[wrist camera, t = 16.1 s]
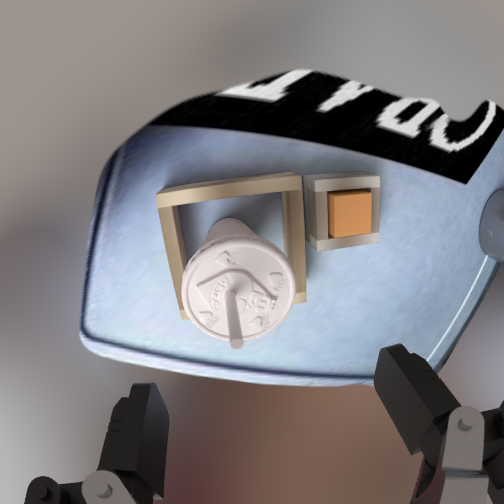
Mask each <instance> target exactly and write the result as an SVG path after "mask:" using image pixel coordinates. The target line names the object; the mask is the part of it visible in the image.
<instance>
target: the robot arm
mask: <svg viewBox="0 0 504 504" xmlns="http://www.w3.org/2000/svg"><path fill="white" fill-rule="evenodd" d="M479 235H480V244H481V248H482V250H483V252H484V253H485V254H486V255H488V256H489V257H491V258H493V259H495V260H496V261H498V262H500V263H501V264H503V265H504V189H500V190H498V191H496V192H495V193H494V194H493V195H492V196H491V197H490V199H489V200H488V202H487V204H486V206H485V209H484V211H483V215H482V218H481V224H480V233H479ZM374 386H375V390H376V392H377V394H378V396H379V397H380V399H381V401H382V403H383V404H384V406H385V408H386V410H387V412H388V413H389V415H390V417H391V419H392V420H393V422H394V424H395V426H396V428H397V429H398V432H399V433H400V435H401V437H402V439H403V441H404V443H405V444H406V446H407V448H408V450H409V452H410V454H411V455H413V454H415V453H418V452H420V451H422V453H423V455H424V456H423V458H422V462H421V466H420V470H419V473H418V477H417V481H416V484H415V488H414V491H413V494H412V497H411V500H410V502H409V504H485V502H486V496H487V492H488V494H489V496H490V498H491V500H492V503H493V504H504V401H503V402H502V404H501V405H500V407H499V408H497V409H492V410H488V411H483V412H479V411H478V410H477V409H475V408H473V407H470V406H461V405H460V403H459V402H458V401H457V400H456V398H455V397H454V396H453V394H452V393H451V392H450V390H449V389H448V388H447V386H446V385H445V384H444V383H443V381H442V380H441V379H440V378H438V375H437V374H436V372H435V371H433V369H432V367H431V366H430V365H429V364H428V362H427V361H426V360H425V359H424V358H422V357H420V356H419V355H417V354H415V353H412V354H410V353H409V352H408V351H407V349H406V348H405V347H404V346H403V345H402V344H400V343H399V344H395V345H392V346H389V347H385V348H382V349H381V350H380V352H379V357H378V361H377V366H376V370H375V374H374ZM168 431H169V414H168V411H167V408H166V405H165V403H164V401H163V399H162V397H161V395H160V392H159V390H158V388H157V386H156V384H155V383H134V384H133V385H132V387H131V391H130V395H129V397H128V398H127V397H122V398H121V399H120V400H119V401H118V403H117V404H116V405H115V407H114V408H113V412H112V415H111V418H110V422H109V426H108V432H107V433H106V438H105V441H104V446H103V449H102V453H101V457H100V462H99V466H98V469H97V471H95V472H93V473H91V474H89V475H88V476H87V477H86V478H85V480H84V481H82V482H77V483H68V484H58V483H57V482H55V481H54V480H53V479H51V478H50V477H45V476H41V477H37V478H35V479H34V480H32V482H31V483H30V484H29V486H28V490H27V493H26V498H25V503H24V504H153V499H162V500H163V497H164V480H165V467H166V454H167V442H168Z"/></svg>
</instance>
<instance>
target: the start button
mask: <svg viewBox="0 0 504 504" xmlns="http://www.w3.org/2000/svg"><path fill="white" fill-rule="evenodd" d="M327 212H328V233H330V234H331V235H332V236H333V237H334V238H338V237H345V236H352V235H360V234H367V233H371V212H372V193H370V192H367V191H364V190H362V189H347V190H334V191H327Z"/></svg>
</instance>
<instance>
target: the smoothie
mask: <svg viewBox="0 0 504 504" xmlns="http://www.w3.org/2000/svg"><path fill="white" fill-rule="evenodd" d="M181 294H182V302H183V306H184V309H185V311H186V313H187V315H188V317H189V318H190V320H191V321H192V322H193V323H194V324H195V325H196V326H197V327H198V328H199V329H200V330H202V331H203V332H205V333H206V334H208V335H210V336H212V337H215V338H218V339H222V340H227V341H230V346H231V347H232V348H233V349H240V348H242V347H243V345H244V342H243V341H246V340H251V339H255V338H258V337H261V336H263V335H265V334H267V333H269V332H271V331H272V330H274V329H275V328H276V327H277V326H279V325H280V324H281V323H282V322H283V321H284V319H285V318H286V317H287V316H288V314H289V312H290V311H291V309H292V306H293V304H294V301H295V297H296V280H295V276H294V273H293V270H292V268H291V265H290V262H289V261H288V259H287V258H286V256H285V255H284V253H283V252H282V251H281V250H280V249H279V248H278V247H276V246H275V245H274V244H273V243H271V242H270V241H267V240H265V239H263V238H260V237H258V236H257V235H256V234H255V233H254V232H253V231H252V230H251V229H250V228H249V227H248V226H246V225H245V224H244V223H243V222H242V221H240V220H238V219H234V218H225V219H222V220H219V221H217V222H216V223H215V224H214V225H213V226H212V227H211V228H210V230H209V232H208V234H207V236H206V238H205V240H204V242H203V244H202V246H201V248H200V249H198V250H197V252H196V253H195V254H194V255H193V256H192V258H191V259H190V260H189V261H188V264H187V266H186V268H185V271H184V273H183V279H182V291H181Z"/></svg>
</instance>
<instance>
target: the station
mask: <svg viewBox="0 0 504 504" xmlns="http://www.w3.org/2000/svg"><path fill="white" fill-rule="evenodd" d="M303 184H304V200H305V220H306V240H307V241H308V242H309V243H310V244H311V245H312V246H313V247H314V248H315V249H316V251H317V252H318V251H325V250H332V249H339V248H345V247H352V246H359V245H365V244H372V243H379V225H380V176H378V175H374V174H370V173H366V172H345V173H329V174H315V175H303ZM347 189H362V190H364V191H367V192H370V193H372V212H371V233H367V234H360V235H352V236H345V237H338V238H334V237H333V236H332V235H331V234H330V233H328V212H327V191H334V190H347ZM272 192H281V205H282V219H283V233H284V248H285V256H286V258H287V259H288V261H289V262H290V265H291V268H292V270H293V273H294V276H295V280H296V297H295V301H294V304H298V303H304V302H306V258H305V232H304V211H303V193H302V178H301V175H298V174H296V173H293V172H282V173H272V174H262V175H253V176H244V177H236V178H228V179H220V180H212V181H205V182H198V183H192V184H185V185H179V186H173V187H167V188H162V189H161V190H160V191H159V192H158V193H157V194H156V200H157V206H158V212H159V217H160V222H161V228H162V233H163V238H164V243H165V248H166V252H167V257H168V262H169V266H170V271H171V275H172V280H173V284H174V288H175V292H176V297H177V301H178V305H179V309H180V313H181V316H182V320H189V319H190V318H189V317H188V315H187V313H186V311H185V309H184V306H183V302H182V294H181V291H182V279H183V273H184V271H185V268H186V266H187V264H188V261H187V256H186V251H185V245H184V240H183V234H182V229H181V223H180V217H179V211H178V205H181V204H188V203H194V202H201V201H208V200H215V199H223V198H230V197H238V196H246V195H254V194H263V193H272Z"/></svg>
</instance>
